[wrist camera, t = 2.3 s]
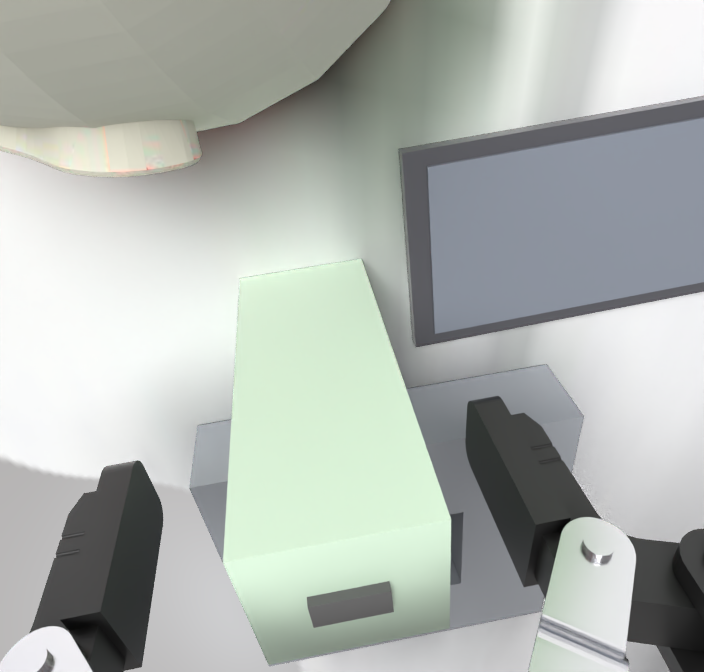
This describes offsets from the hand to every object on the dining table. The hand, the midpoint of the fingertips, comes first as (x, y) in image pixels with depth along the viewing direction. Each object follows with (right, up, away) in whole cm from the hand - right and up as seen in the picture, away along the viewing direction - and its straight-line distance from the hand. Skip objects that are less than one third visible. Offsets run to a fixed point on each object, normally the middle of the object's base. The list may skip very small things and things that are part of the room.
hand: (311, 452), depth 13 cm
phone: (+9, +7, +5) cm, 13 cm away
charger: (0, +4, +5) cm, 6 cm away
